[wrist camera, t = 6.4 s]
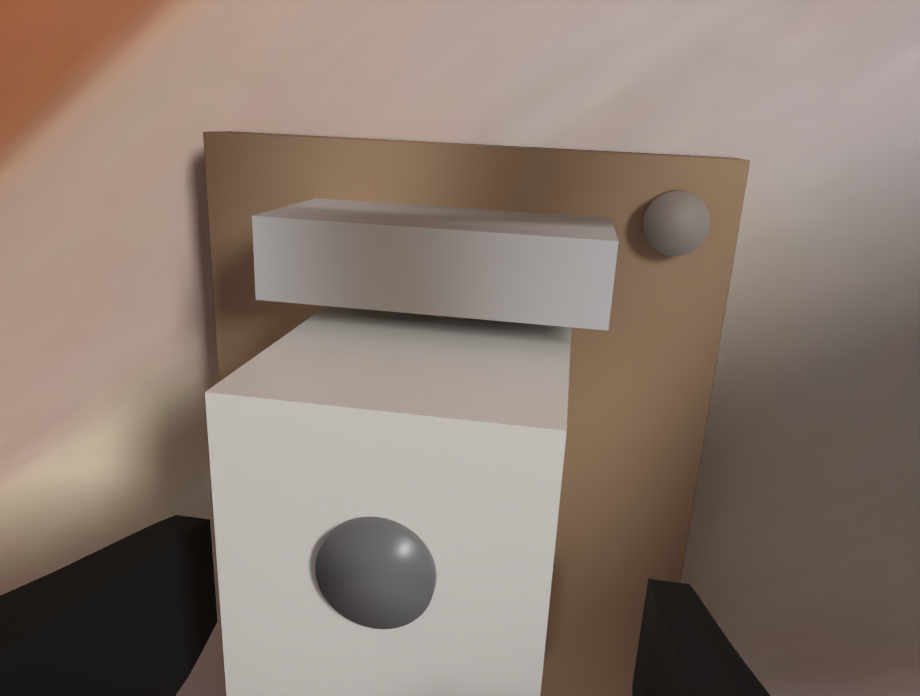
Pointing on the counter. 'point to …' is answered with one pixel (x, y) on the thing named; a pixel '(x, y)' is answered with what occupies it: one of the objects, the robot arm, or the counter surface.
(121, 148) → the counter surface
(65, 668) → the robot arm
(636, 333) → the mounting bracket
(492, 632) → the power strip block
